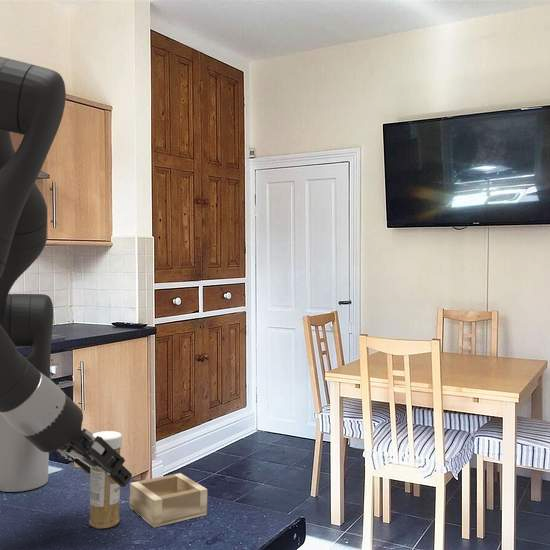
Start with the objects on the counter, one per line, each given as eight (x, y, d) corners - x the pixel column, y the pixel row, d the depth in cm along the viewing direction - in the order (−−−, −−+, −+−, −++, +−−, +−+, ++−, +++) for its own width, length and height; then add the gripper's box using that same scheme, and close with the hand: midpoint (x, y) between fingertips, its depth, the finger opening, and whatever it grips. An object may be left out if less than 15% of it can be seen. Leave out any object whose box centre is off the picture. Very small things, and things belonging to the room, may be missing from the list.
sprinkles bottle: (124, 525, 92) (126, 435, 92) (93, 532, 89) (95, 439, 89) (113, 514, 96) (116, 428, 96) (84, 520, 93) (86, 432, 93)
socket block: (129, 507, 99) (130, 483, 99) (179, 496, 104) (180, 473, 104) (153, 527, 91) (154, 500, 91) (206, 514, 97) (207, 489, 97)
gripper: (88, 396, 82) (154, 463, 91) (32, 381, 91) (97, 444, 100) (50, 444, 78) (123, 509, 87) (-5, 424, 87) (67, 485, 96)
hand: (109, 474), depth 93 cm, fingers open, 8 cm apart
